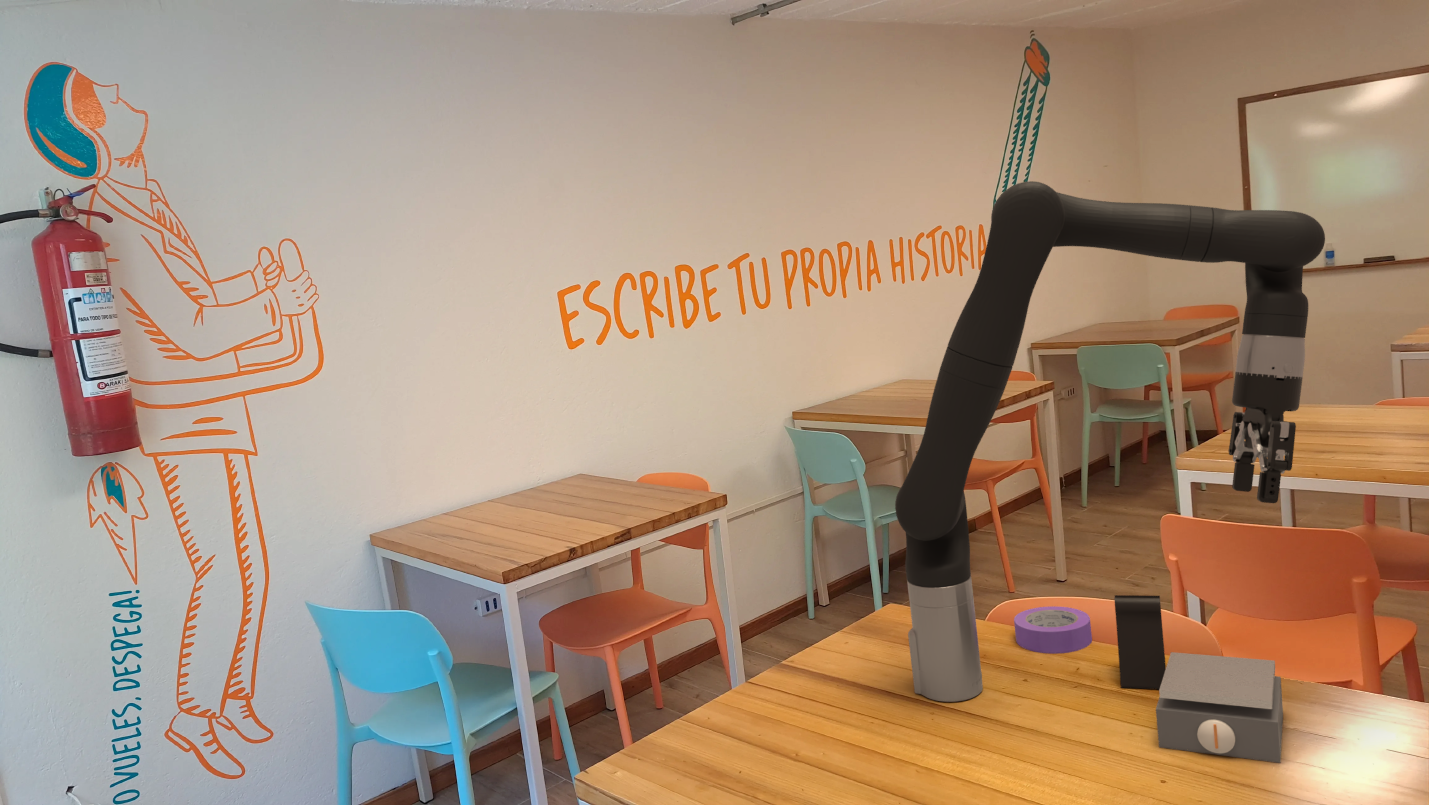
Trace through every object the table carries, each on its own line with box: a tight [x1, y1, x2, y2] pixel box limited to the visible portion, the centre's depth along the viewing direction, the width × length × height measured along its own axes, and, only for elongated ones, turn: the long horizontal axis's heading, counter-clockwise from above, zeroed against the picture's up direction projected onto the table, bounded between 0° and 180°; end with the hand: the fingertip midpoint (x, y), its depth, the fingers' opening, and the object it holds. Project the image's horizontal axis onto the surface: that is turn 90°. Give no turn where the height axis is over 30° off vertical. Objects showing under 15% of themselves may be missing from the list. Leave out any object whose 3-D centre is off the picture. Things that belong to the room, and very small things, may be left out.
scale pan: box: [1158, 651, 1276, 709], centre depth 120 cm, size 12×12×1 cm
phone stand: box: [1113, 594, 1167, 690], centre depth 138 cm, size 9×6×12 cm, turn 156°
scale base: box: [1155, 675, 1284, 764], centre depth 120 cm, size 13×14×5 cm
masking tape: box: [1013, 605, 1093, 655], centre depth 155 cm, size 12×12×4 cm
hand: (1253, 496), depth 124 cm, fingers open, 8 cm apart
